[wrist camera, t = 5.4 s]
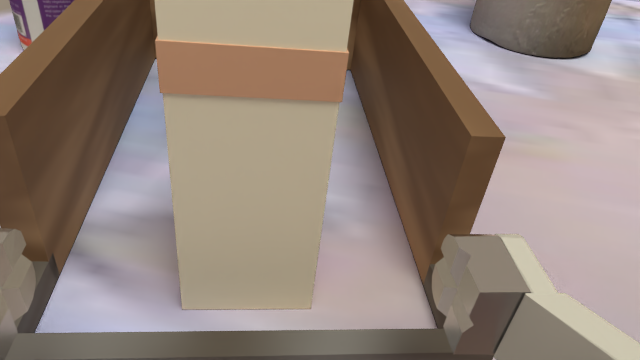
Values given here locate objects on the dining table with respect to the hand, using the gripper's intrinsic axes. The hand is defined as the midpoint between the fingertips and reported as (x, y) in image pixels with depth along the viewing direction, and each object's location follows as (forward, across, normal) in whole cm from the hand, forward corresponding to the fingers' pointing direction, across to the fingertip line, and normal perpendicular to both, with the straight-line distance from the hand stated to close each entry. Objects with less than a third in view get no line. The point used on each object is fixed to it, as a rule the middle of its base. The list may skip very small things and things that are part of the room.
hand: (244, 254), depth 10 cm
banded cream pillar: (+5, 0, +6) cm, 8 cm away
